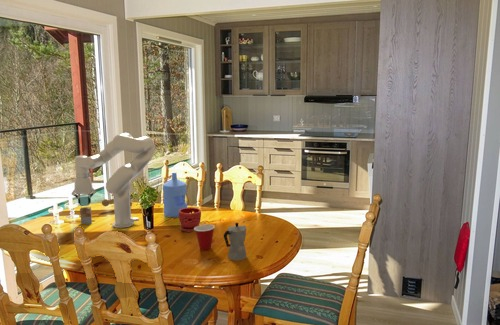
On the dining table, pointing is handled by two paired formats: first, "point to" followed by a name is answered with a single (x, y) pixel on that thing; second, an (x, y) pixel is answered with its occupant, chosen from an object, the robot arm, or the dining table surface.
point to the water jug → (174, 196)
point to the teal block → (84, 200)
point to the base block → (86, 220)
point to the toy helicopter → (111, 201)
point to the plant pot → (189, 219)
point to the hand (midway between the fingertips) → (84, 203)
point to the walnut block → (85, 212)
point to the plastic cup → (204, 236)
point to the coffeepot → (236, 242)
